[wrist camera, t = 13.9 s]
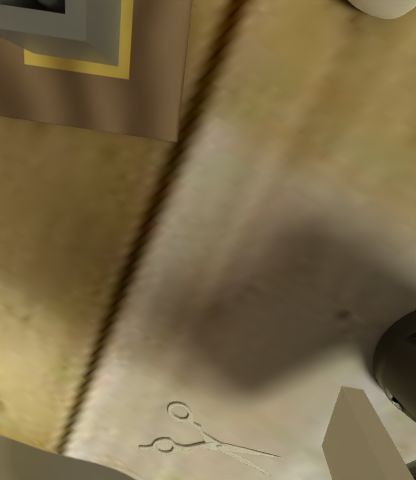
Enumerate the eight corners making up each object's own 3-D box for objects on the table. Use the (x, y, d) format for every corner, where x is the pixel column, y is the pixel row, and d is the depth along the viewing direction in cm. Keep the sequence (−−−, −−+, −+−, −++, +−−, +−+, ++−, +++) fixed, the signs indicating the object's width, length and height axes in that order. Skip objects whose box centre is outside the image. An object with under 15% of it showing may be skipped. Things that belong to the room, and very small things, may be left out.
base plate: (202, -103, 26) (201, -119, 24) (177, 142, 32) (174, 141, 30) (-29, -136, 26) (-45, -155, 24) (-11, 114, 32) (-23, 112, 30)
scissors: (161, 397, 41) (294, 445, 43) (162, 393, 42) (293, 439, 43) (138, 449, 45) (262, 492, 46) (140, 444, 45) (262, 486, 47)
